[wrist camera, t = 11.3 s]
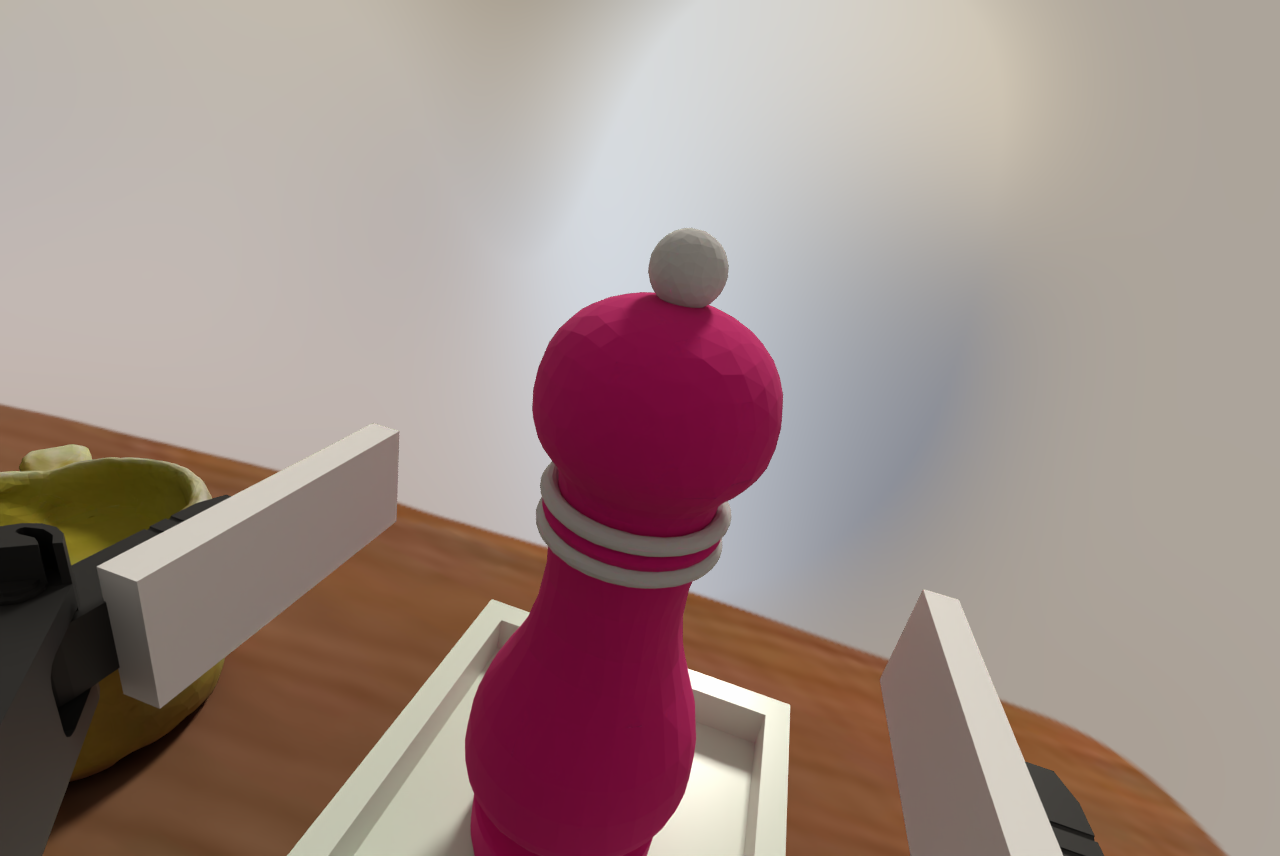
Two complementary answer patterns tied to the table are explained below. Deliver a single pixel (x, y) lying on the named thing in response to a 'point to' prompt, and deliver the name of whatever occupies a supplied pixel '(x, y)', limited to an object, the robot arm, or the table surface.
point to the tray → (443, 798)
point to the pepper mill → (620, 562)
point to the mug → (91, 521)
